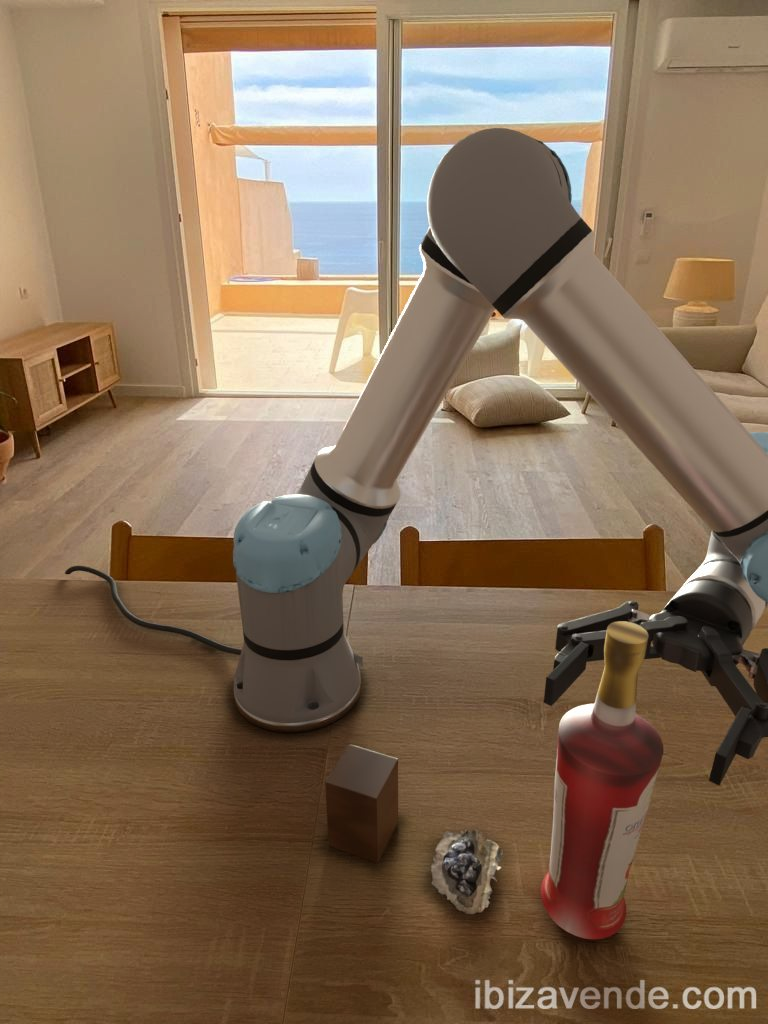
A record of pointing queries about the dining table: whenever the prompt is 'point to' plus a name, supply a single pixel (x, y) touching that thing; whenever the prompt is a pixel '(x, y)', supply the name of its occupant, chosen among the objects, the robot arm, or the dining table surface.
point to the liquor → (601, 794)
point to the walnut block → (362, 802)
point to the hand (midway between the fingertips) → (626, 728)
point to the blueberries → (466, 869)
